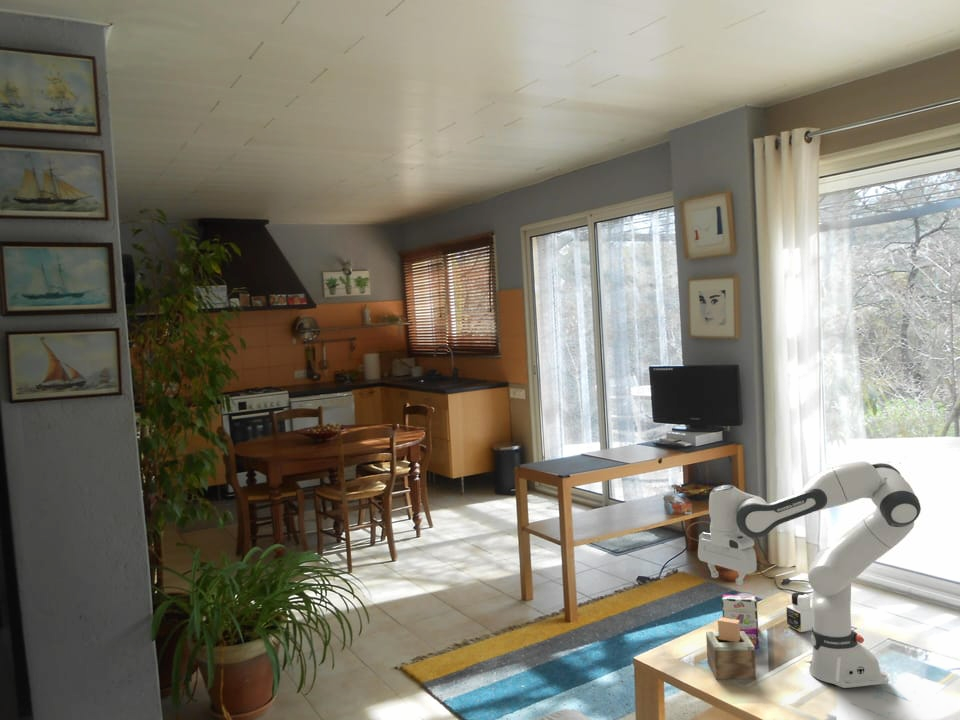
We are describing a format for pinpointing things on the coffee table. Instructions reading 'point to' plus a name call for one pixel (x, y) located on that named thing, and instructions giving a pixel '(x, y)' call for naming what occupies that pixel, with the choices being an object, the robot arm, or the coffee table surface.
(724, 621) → the block
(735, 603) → the candy bar box
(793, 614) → the medicine bottle
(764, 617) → the coffee table surface
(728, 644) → the drop box
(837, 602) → the robot arm
